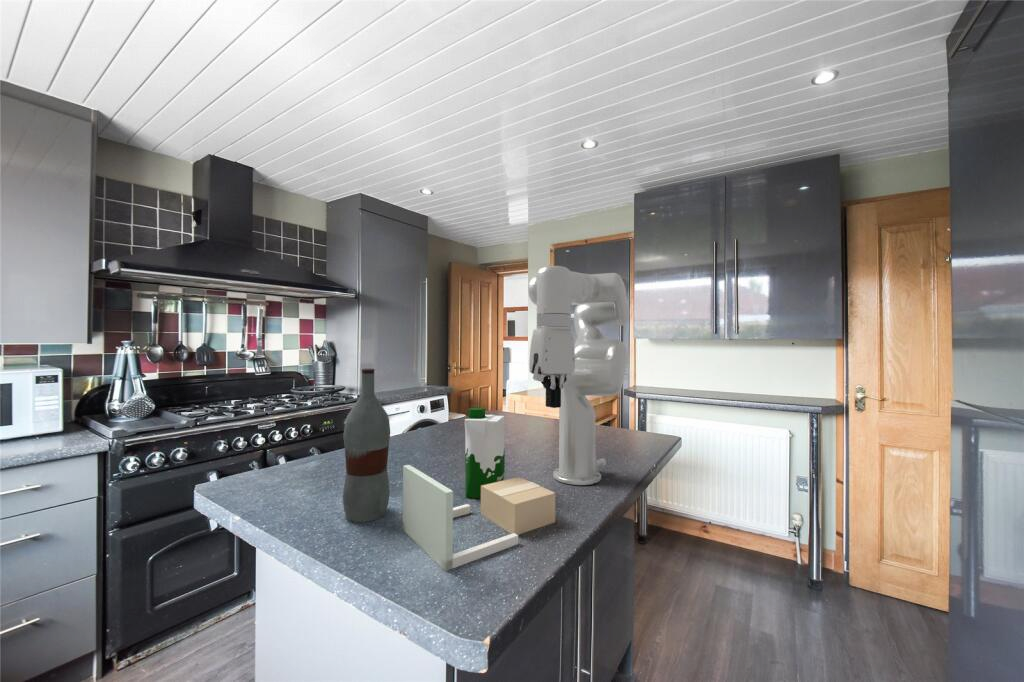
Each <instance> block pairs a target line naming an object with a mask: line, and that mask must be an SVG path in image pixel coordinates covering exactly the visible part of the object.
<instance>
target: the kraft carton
mask: <svg viewBox="0 0 1024 682" xmlns="http://www.w3.org/2000/svg"><path fill="white" fill-rule="evenodd" d="M480 514H481V515H482V516H484V517H485V518H487V519H488V520H490V521H491V522H493V523H495V524H496V525H497V526H499V527H500V528H502V529H504V530H505V531H506V532H508V533H509V534H512V533H515V534H517V535H518V536H519V535H523V534H525V533H527V532H529V531H533V530H536V529H539V528H542V527H545V526H548V525H551V524H554V523H556V492H554V491H552V490H550V489H547V488H545V487H543V486H542V485H539V484H538V483H535V482H532V481H529V480H527V479H526V478H523V477H520V476H517V477H513V478H509V479H504V480H503V481H499V482H495V483H490V484H486V485H482V486H481V499H480Z"/></svg>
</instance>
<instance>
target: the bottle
mask: <svg viewBox="0 0 1024 682" xmlns="http://www.w3.org/2000/svg"><path fill="white" fill-rule="evenodd" d="M375 370H376V369H375V368H369V367H368V368H361V391H360V392H361V393H360V396H359V397H358V399H357V400H356V401H355V403H354V405H353V407H352V408H351V409H350V412H348V414H347V416H346V418H345V422H344V428H343V443H344V444H343V445H344V454H345V455H344V456H345V458H344V459H345V478H344V483H343V491H342V503H343V504H342V505H343V511H344V515H345V518H346V519H347V520H348V521H350V522H354V523H366V522H371V521H375V520H378V519H380V518H382V517H384V516H385V515H386V514H387V510H388V507H389V502H390V501H389V500H390V493H391V491H390V483H389V481H390V479H389V474H388V457H389V448H390V439H391V425H390V424H391V423H390V419H389V415H388V413H387V411H386V409H385V408H384V407H383V405H382V404H381V402H380V401H379V399H378V398H377V396H376V395H375V394H376V393H375Z"/></svg>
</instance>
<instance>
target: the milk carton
mask: <svg viewBox="0 0 1024 682" xmlns="http://www.w3.org/2000/svg"><path fill="white" fill-rule="evenodd" d="M467 410H468V411H467V413H468V414H467V415H468V416H467V417H465V419H463V420H464V430H465V431H464V433H465V438H464V439H465V448H464V449H465V450H464V451H465V452H464V453H465V457H464V458H465V459H464V462H465V465H464V468H465V469H464V472H465V473H464V475H465V477H464V479H465V498H466V499H467V498H468V499H480V500H481V486H482V485H486V484H490V483H495V482H499V481H503V480H505V467H506V466H505V465H506V463H505V462H506V461H505V460H506V459H505V457H506V456H505V455H506V454H505V452H506V451H505V448H506V446H505V445H506V444H505V443H506V436H505V434H506V433H505V431H506V430H505V416H504V415H495V414H486V408H485V407H479V406H477V407H469V408H467Z"/></svg>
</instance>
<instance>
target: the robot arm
mask: <svg viewBox="0 0 1024 682" xmlns="http://www.w3.org/2000/svg"><path fill="white" fill-rule="evenodd" d="M527 288H528V289H527V291H528V296H529V297H528V298H530V301H531V302H532V303H533V304H534V305H536V328H535V329H533V331H532V336H531V341H530V347H529V360H528V362H529V363H528V365H529V366H528V367H529V369H528V370H529V373H530V374H532V375H533V377H532V379H533V381H536V382H539V383H541V384H542V387H543V388H544V389H545V406H546V407H547V408H553V409H558V413H559V414H558V415H559V416H558V418H559V421H558V423H559V424H558V425H559V428H558V429H559V430H558V432H559V433H558V440H559V442H558V448H559V449H558V468H555V470H553V474H552V476H553V479H554V480H555V481H558V482H560V483H563V484H568V485H574V486H587V485H588V486H589V485H594V483H595V484H598V483H599V482H601V480H602V474H601V473H600V471H598V469H599V468H600V467H604V466H606V465H607V461H606V459H605V458H599V459H597V458H596V411H595V408H594V406H593V405H592V403H591V402H590V400H589V399H588V396H595V397H597V396H598V397H600V396H601V397H613V396H617V395H619V393H620V392H621V391H622V388H623V384H624V380H625V375H626V371H627V366H628V350H627V346H626V344H625V343H624V342H623V341H621V340H620V339H619V340H618V339H613V338H612V339H607V338H605V336H604V334H603V333H602V331H600V329H598V328H599V327H622V326H625V325H626V324H627V323H628V322H629V319H630V305H629V300H628V295H627V289H626V286H625V283H624V280H623V278H622V277H621V275H620V274H618V273H617V272H605V273H593V274H591V273H589V274H588V273H582V272H578V271H571V270H570V269H569V268H568V267H565V266H562V265H549V266H544V267H541V268H540V269H538V271H537V273H536V275H534V276H533V277H532V278H531V279H530V281H529V283H528V287H527ZM572 305H573V306H574V305H575V309H574V312H573V320H572ZM573 321H574V322H573ZM573 323H574V329H575V334H576V338H577V339H576V340H574V334H573V329H572V325H573ZM597 327H598V328H597ZM574 341H575V342H574Z"/></svg>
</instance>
